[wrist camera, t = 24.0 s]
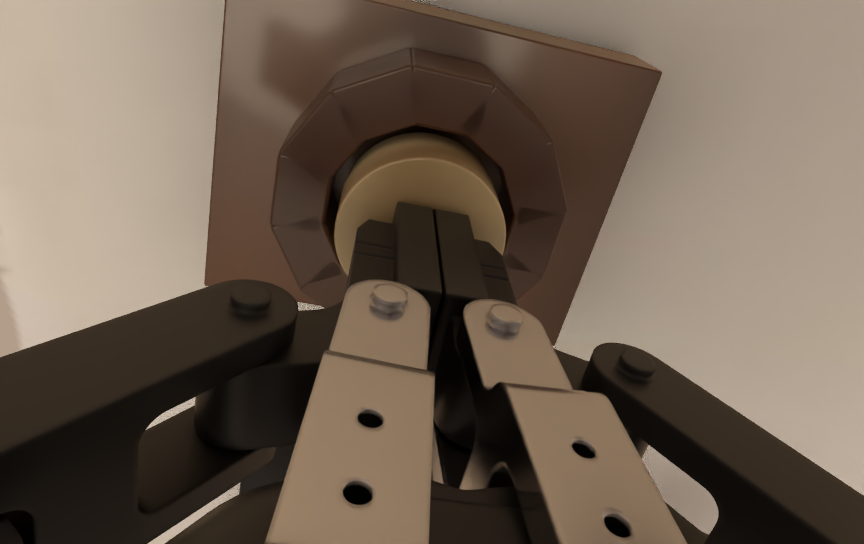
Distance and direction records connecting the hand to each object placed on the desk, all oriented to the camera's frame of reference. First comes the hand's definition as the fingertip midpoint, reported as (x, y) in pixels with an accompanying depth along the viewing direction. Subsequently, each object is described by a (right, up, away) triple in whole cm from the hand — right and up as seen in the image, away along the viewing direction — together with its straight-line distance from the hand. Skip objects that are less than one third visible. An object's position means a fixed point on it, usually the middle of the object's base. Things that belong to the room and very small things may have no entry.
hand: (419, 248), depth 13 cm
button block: (0, +3, +4) cm, 5 cm away
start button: (0, +1, +2) cm, 2 cm away
